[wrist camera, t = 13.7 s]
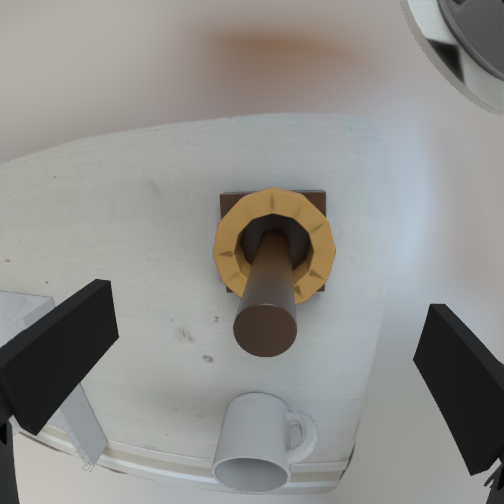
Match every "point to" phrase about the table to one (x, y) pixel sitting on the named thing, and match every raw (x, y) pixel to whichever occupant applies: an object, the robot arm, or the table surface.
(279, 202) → the tape roll
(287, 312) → the stand
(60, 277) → the table surface
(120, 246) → the table surface
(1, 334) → the skate ramp
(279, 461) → the cup
